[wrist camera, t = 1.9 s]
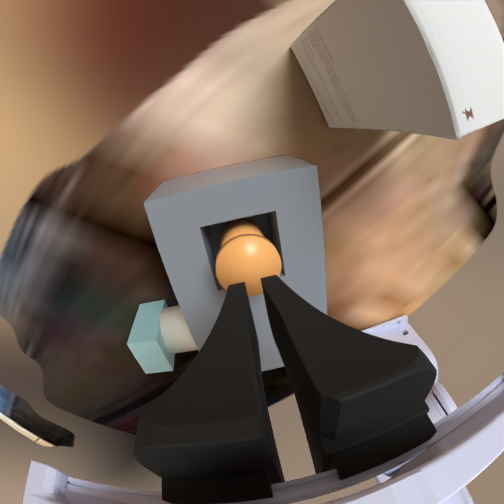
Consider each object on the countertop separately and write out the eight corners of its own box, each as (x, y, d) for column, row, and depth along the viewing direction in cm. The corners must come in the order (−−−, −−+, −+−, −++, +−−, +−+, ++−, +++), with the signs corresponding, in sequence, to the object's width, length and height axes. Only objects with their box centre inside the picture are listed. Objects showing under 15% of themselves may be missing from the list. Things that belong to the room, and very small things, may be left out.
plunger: (262, 208, 16) (276, 231, 12) (270, 255, 17) (285, 288, 14) (209, 219, 16) (208, 246, 12) (221, 265, 17) (224, 302, 14)
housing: (287, 154, 19) (316, 165, 13) (305, 309, 25) (327, 354, 19) (164, 181, 18) (143, 202, 13) (211, 330, 24) (212, 380, 19)
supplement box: (398, 105, 17) (526, 116, 6) (326, 129, 18) (458, 146, 7) (365, 27, 14) (478, -17, 3) (286, 43, 15) (377, -42, 3)
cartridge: (279, 272, 22) (296, 309, 18) (284, 308, 24) (299, 347, 19) (139, 302, 22) (125, 342, 17) (154, 334, 23) (146, 375, 19)
